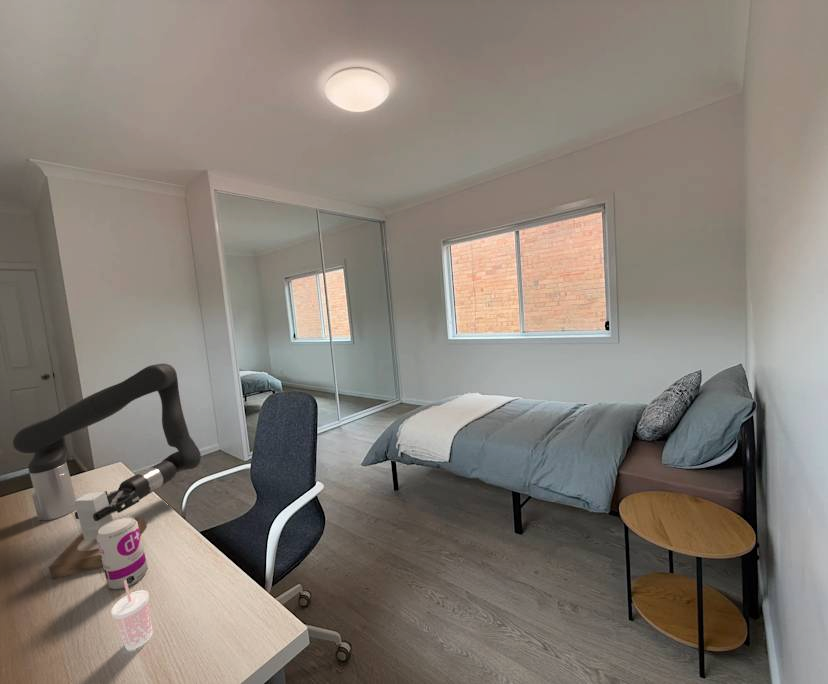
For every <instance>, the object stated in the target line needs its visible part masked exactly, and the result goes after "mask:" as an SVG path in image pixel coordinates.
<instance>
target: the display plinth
mask: <svg viewBox="0 0 828 684" xmlns="http://www.w3.org/2000/svg"><path fill="white" fill-rule="evenodd" d="M134 519H135V520H136V521H137V523H138V527H139V532H140V536H141V537H142V535H143V533H144V532H145V531H146V529H148V526H147V521H146V517H145V516H141V517H138V518H134ZM141 534H142V535H141ZM102 567H103V564H102V560H101V556H100V552H99V548H98V544H97V539H84V536H83V532H82V531H81V533H80V534H79V535H78V536H77V537H76V538H75V539H74V540H73V541H72V542H71V543H70V544H69V545H68V546H67V547H66V548H65V549H64V550H63V552H61V554H59V556H57V557H56V558H55V559H54V560H53V562H51V564H50V565H49V566H48V570H49V574H50V578H51V580H53V579H57V578H63V577H67V576H70V575H74V574H78V573H82V572H86V571H91V570H96V569H99V568H102Z"/></svg>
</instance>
